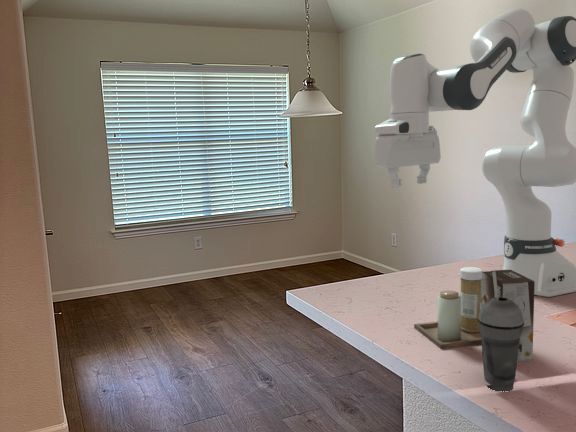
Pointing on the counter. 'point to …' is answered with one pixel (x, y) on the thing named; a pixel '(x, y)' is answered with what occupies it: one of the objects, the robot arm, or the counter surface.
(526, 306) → the coffee box
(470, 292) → the sprinkles bottle
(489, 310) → the beverage cup
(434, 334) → the tray
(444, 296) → the jar
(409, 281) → the counter surface
